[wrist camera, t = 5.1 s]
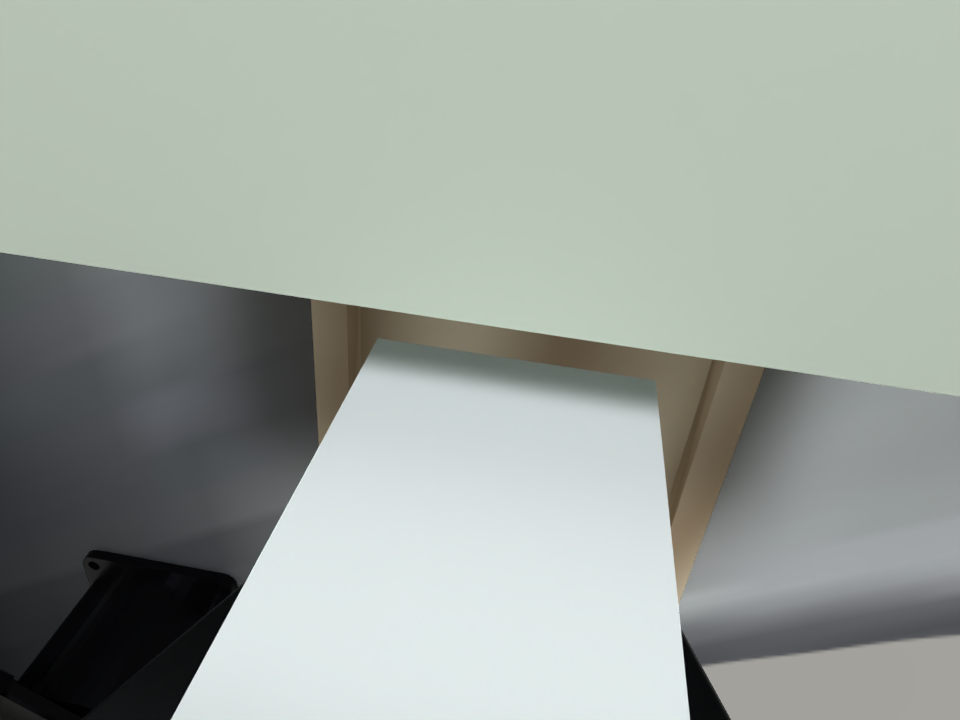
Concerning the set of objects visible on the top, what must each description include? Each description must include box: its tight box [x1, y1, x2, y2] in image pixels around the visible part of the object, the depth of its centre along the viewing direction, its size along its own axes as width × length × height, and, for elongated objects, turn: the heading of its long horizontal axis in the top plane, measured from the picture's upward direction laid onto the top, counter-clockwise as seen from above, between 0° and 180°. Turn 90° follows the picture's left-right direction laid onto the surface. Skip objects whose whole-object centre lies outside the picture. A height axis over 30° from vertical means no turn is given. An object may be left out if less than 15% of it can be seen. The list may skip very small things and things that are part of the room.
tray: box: [311, 299, 765, 605], centre depth 20 cm, size 12×18×4 cm, turn 175°
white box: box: [171, 338, 690, 720], centre depth 8 cm, size 4×4×7 cm
